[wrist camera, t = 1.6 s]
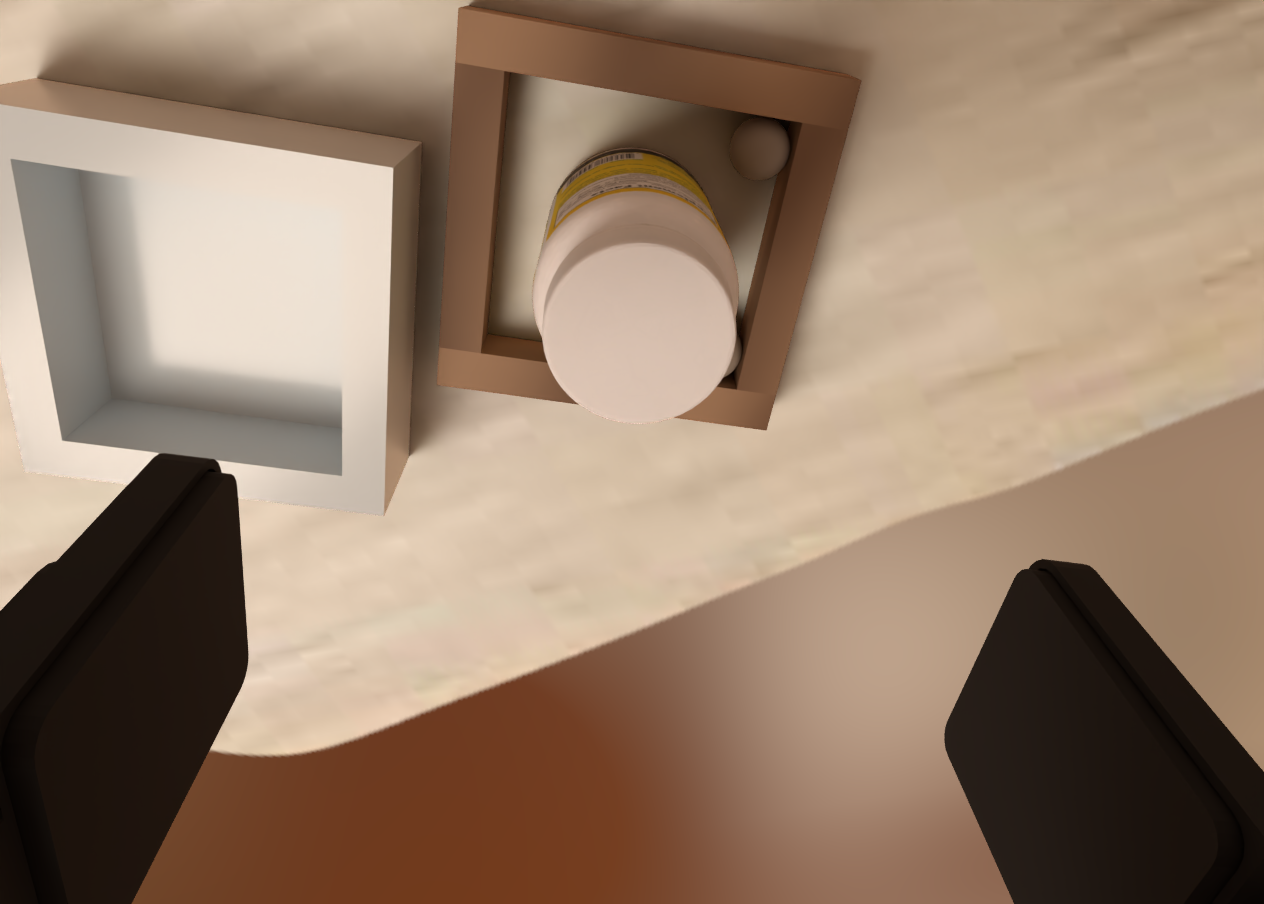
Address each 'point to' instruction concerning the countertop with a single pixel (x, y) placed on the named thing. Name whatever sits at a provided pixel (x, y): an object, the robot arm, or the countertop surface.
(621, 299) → the supplement bottle
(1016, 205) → the countertop surface
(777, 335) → the tray
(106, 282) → the grey square open box
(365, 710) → the countertop surface
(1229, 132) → the countertop surface
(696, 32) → the countertop surface
